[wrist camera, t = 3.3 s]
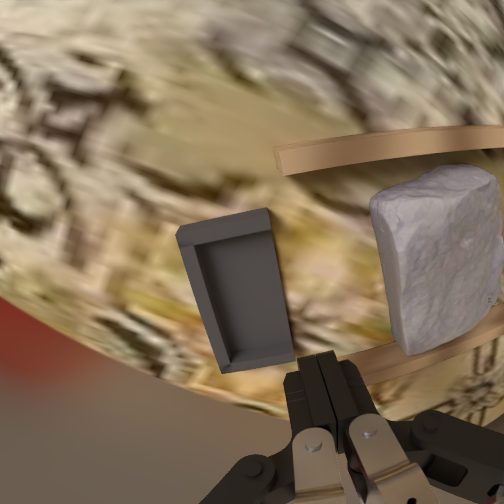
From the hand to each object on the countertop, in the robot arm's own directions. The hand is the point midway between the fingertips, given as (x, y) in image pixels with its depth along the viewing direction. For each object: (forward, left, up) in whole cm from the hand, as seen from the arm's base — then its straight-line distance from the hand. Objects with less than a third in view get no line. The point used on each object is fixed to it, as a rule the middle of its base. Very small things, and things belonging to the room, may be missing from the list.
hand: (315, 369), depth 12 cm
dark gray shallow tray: (+3, 0, -8) cm, 9 cm away
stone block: (-11, 0, -9) cm, 14 cm away
